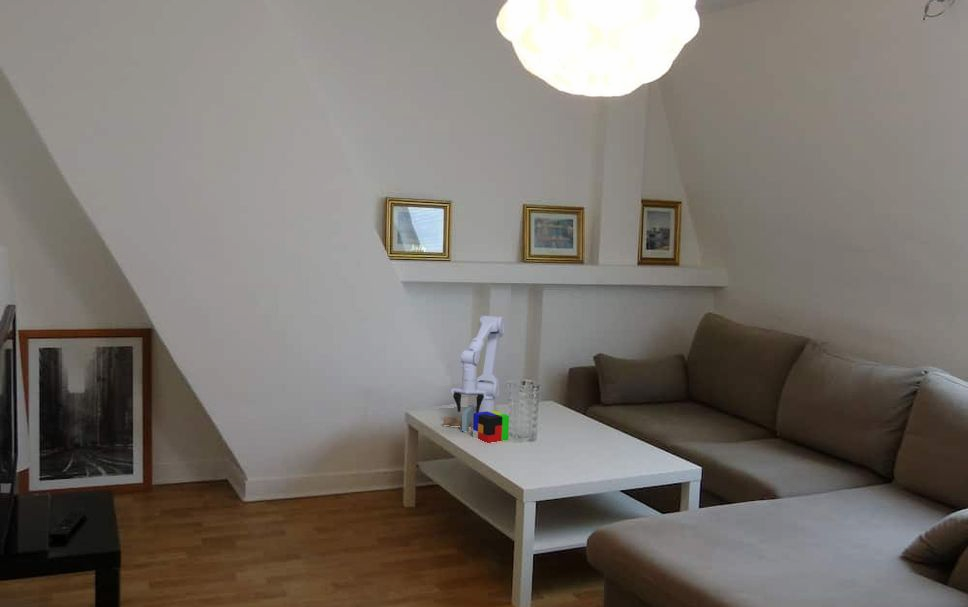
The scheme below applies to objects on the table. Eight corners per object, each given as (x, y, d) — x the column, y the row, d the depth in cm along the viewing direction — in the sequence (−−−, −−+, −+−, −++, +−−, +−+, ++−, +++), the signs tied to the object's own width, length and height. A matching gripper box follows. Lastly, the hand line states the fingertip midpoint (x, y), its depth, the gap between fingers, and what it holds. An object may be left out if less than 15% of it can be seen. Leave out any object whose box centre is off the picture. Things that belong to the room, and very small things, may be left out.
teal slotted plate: (466, 432, 369) (467, 413, 368) (461, 432, 369) (462, 412, 368) (473, 424, 382) (473, 405, 381) (468, 423, 383) (469, 405, 382)
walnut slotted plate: (443, 426, 377) (443, 418, 376) (444, 425, 379) (444, 417, 378) (491, 430, 373) (491, 422, 373) (492, 429, 375) (492, 420, 375)
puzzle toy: (472, 438, 361) (473, 413, 360) (492, 434, 367) (493, 410, 366) (487, 444, 353) (488, 418, 352) (508, 440, 359) (509, 415, 358)
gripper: (449, 380, 371) (448, 412, 373) (485, 382, 368) (483, 415, 370) (453, 376, 378) (452, 408, 380) (488, 379, 375) (487, 411, 377)
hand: (468, 412), depth 375 cm, fingers open, 7 cm apart
